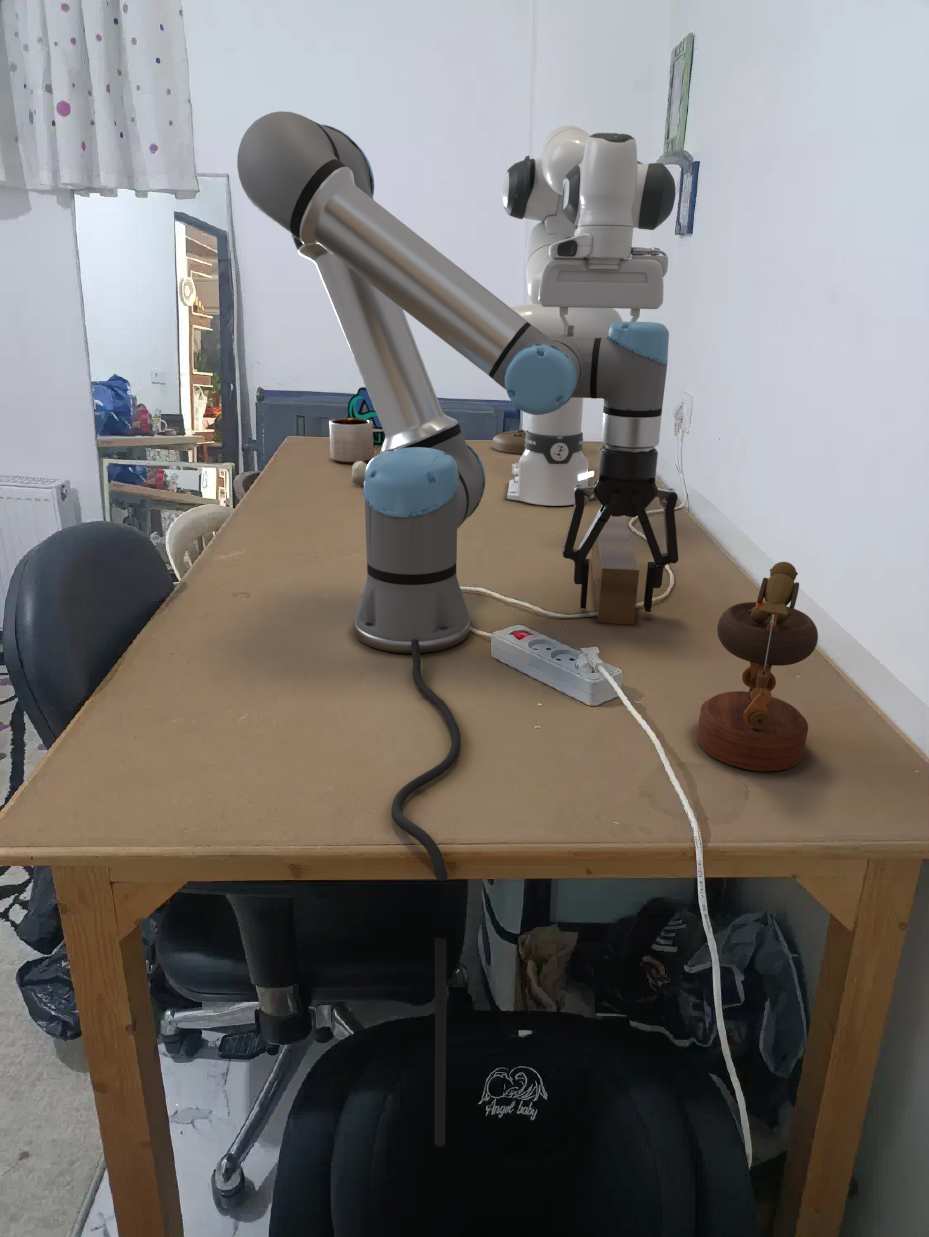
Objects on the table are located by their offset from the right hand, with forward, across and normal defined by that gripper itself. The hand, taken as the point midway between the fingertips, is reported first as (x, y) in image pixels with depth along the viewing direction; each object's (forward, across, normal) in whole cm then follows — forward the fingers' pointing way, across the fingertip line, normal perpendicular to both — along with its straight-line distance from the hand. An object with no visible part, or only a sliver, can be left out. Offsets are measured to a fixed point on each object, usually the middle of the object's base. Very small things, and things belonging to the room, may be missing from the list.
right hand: (597, 337), depth 141 cm
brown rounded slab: (+35, +11, -77) cm, 85 cm away
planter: (+35, +56, -60) cm, 89 cm away
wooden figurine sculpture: (+35, -15, +71) cm, 80 cm away
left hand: (+34, -3, +37) cm, 50 cm away
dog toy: (+35, +41, -36) cm, 65 cm away
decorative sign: (+35, +58, -82) cm, 106 cm away
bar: (+35, -3, +27) cm, 44 cm away
